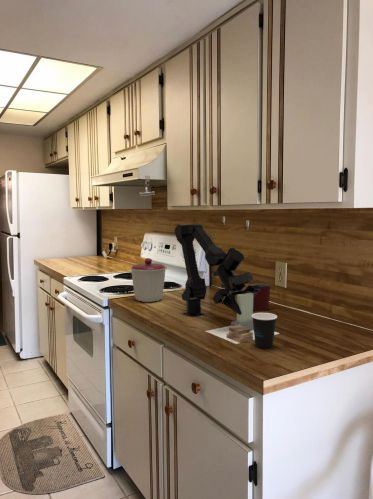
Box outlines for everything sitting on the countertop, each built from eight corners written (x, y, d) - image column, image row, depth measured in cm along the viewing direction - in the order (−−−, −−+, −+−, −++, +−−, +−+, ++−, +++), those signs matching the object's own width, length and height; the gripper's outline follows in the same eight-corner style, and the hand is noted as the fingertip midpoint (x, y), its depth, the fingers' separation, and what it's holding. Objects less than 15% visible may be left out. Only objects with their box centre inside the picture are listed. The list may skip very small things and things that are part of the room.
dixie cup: (277, 346, 132) (277, 313, 131) (276, 354, 124) (276, 319, 123) (252, 344, 134) (252, 311, 133) (250, 352, 126) (250, 318, 125)
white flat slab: (205, 334, 146) (205, 322, 145) (247, 325, 156) (247, 314, 156) (236, 347, 131) (236, 334, 131) (279, 336, 142) (280, 325, 142)
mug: (242, 306, 188) (242, 282, 187) (258, 304, 192) (258, 281, 191) (257, 312, 177) (257, 287, 176) (274, 310, 181) (274, 285, 180)
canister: (124, 299, 204) (123, 257, 202) (154, 295, 215) (154, 255, 213) (142, 306, 190) (141, 261, 188) (174, 301, 200) (173, 258, 198)
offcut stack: (226, 337, 138) (226, 327, 138) (239, 334, 141) (239, 324, 141) (240, 343, 132) (240, 332, 132) (254, 339, 135) (254, 329, 135)
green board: (236, 330, 146) (236, 294, 145) (249, 327, 150) (249, 292, 148) (240, 331, 145) (240, 295, 143) (252, 328, 148) (253, 293, 147)
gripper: (217, 267, 143) (238, 303, 135) (257, 263, 153) (278, 297, 145) (204, 285, 150) (223, 321, 142) (243, 280, 161) (262, 314, 153)
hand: (247, 313), depth 145 cm, fingers closed on green board, 6 cm apart
